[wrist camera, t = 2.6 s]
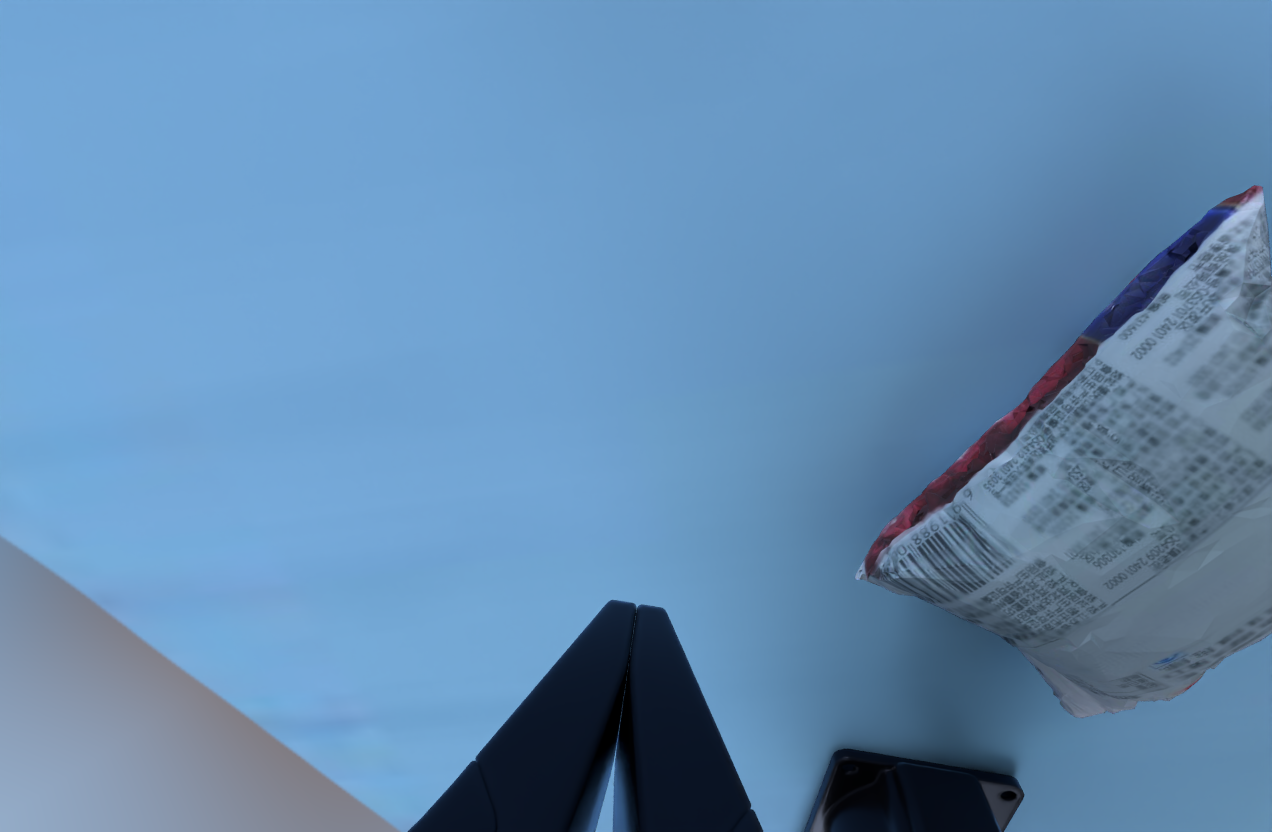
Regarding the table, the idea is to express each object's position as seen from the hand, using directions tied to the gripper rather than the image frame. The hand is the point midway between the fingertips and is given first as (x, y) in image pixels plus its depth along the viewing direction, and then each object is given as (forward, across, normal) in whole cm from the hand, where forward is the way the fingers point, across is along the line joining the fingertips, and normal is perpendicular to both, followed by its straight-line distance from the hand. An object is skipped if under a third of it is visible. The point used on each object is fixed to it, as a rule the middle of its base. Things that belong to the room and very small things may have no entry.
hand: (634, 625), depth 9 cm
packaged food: (+9, -12, 0) cm, 15 cm away
